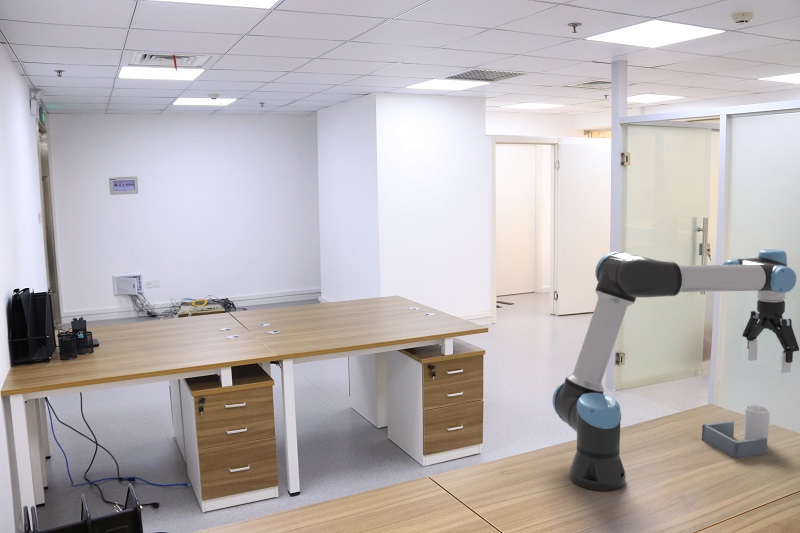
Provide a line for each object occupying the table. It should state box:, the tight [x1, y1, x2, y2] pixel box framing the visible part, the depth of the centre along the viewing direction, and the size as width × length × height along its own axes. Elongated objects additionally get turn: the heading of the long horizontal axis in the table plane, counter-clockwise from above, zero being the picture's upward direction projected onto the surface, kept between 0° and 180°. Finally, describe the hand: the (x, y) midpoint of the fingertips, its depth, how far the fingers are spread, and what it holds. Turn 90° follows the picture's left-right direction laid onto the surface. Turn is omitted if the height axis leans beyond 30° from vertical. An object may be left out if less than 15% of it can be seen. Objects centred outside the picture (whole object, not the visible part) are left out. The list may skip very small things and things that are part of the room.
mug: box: [743, 404, 771, 441], centre depth 208 cm, size 10×7×12 cm, turn 144°
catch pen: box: [701, 420, 768, 460], centre depth 207 cm, size 11×15×5 cm
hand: (768, 366), depth 208 cm, fingers open, 13 cm apart
